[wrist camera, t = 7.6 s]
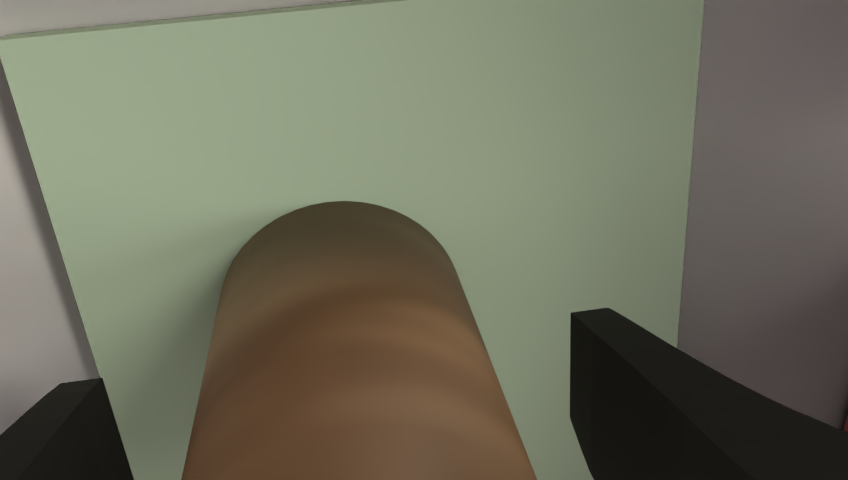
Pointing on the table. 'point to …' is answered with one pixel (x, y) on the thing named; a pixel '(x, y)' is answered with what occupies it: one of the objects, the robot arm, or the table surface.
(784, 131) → the table surface
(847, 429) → the canister
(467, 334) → the walnut cylinder
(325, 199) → the green mat
